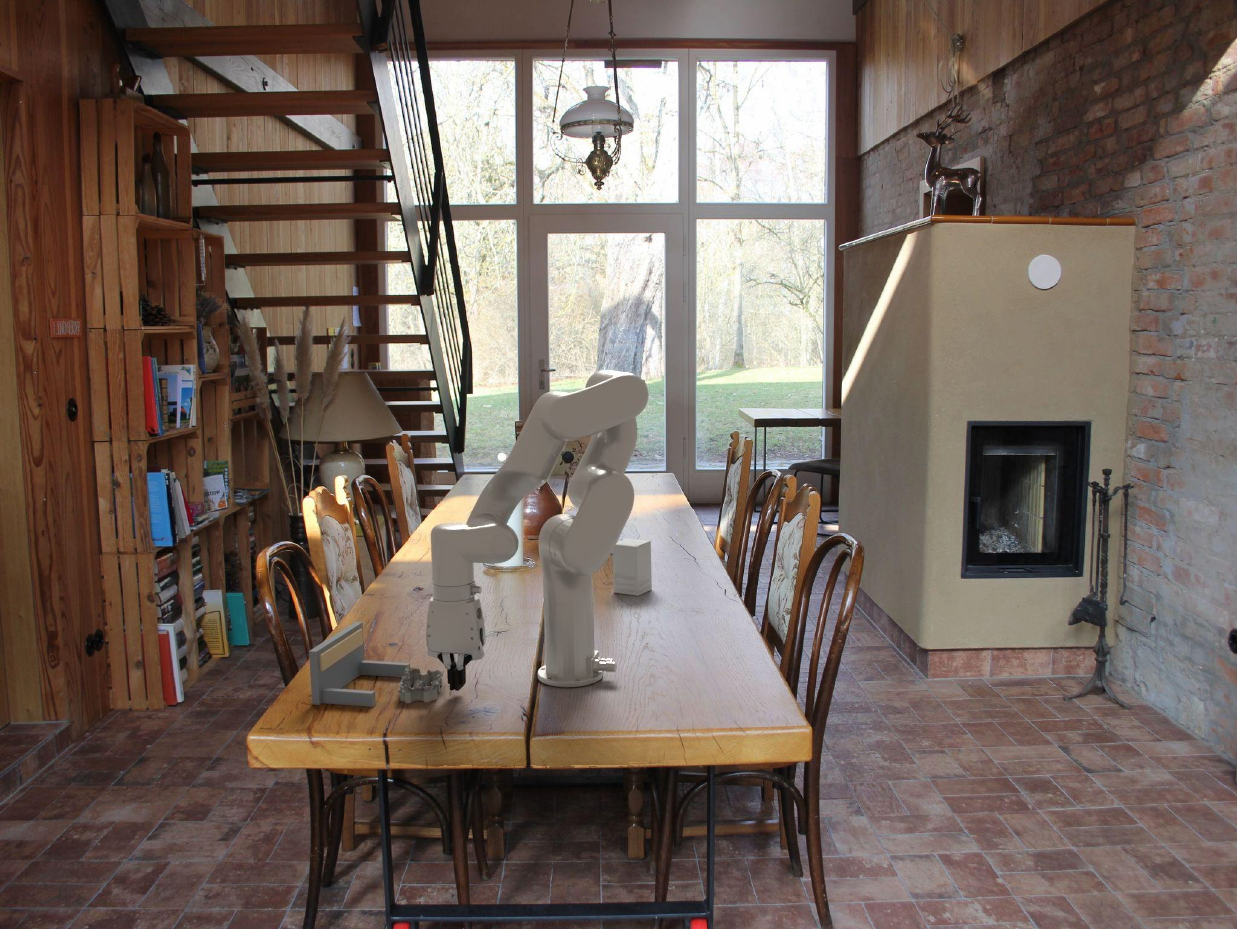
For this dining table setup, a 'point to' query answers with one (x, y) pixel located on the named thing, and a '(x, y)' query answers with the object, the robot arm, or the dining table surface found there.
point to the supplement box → (632, 567)
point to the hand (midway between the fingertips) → (457, 687)
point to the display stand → (346, 669)
